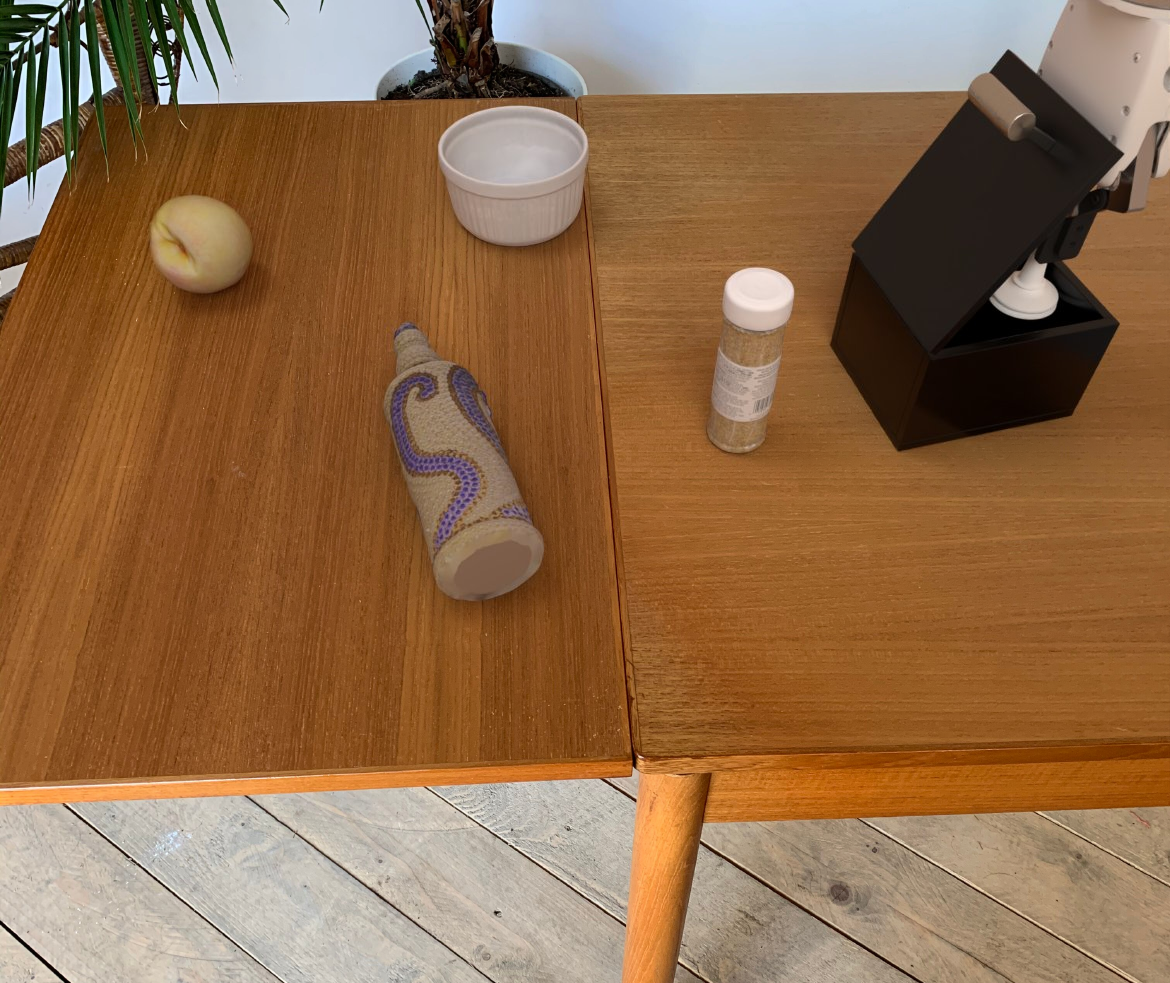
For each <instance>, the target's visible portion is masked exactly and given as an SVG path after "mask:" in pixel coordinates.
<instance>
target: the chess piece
mask: <svg viewBox="0 0 1170 983" xmlns="http://www.w3.org/2000/svg"><path fill="white" fill-rule="evenodd" d="M1036 250H1037V248H1036V249H1035V250H1034V252H1033V253H1032V254H1031V255H1030V257H1029V258H1028V260H1027V262H1026V264H1025V265H1024V267H1023V269H1022V270H1021V271H1015V272H1014V273H1013V274H1012V275H1011V276H1010V277H1009V278H1008V279H1007V280H1006V281H1005V282H1004V283H1003V285H1002V286H1001V287H1000V288H999V289H998V290H997V291H996V292H995V293H994V294H993V295H992V296H991V297H990V298H989V299H990V301H991V303H992V304H993V305H994V306H995V307H996V308H997V309H999V310H1000V311H1002V312H1003V313H1005V314H1007V315H1010V316H1012V317H1016V318H1020V319H1040V318H1044V317H1047V316H1049V315H1050V314H1052V313H1053V312H1054V310H1055V309H1056V305H1057V302H1058V292H1057V290H1056V288H1055V287H1054V285H1053V284H1052V283H1051V282H1049V281H1048V280H1047V279H1045V278H1044V273H1045V269H1046V266H1047V263H1045V264H1038V262H1037V261H1036V260H1035V259H1034V256H1035V252H1036Z"/></svg>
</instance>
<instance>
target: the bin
mask: <svg viewBox="0 0 1170 983" xmlns="http://www.w3.org/2000/svg"><path fill="white" fill-rule="evenodd" d="M1029 257H1030V256H1029ZM1029 257H1028V258H1029ZM1028 258H1027V259H1026V260H1025V261H1024V262H1023V263H1022V264H1021V265H1020V266H1019V267H1018V269H1017V270H1016V271H1021V270H1022V269H1023V267H1024V265H1025V264H1026V262H1027V260H1028ZM1044 278H1045V279H1047V280H1048V281H1049V282H1051V283H1052V284H1053V285H1054V287H1055V288H1056V290H1057V292H1058V302H1057V305H1056V309H1055V310H1054V312H1053V313H1052V314H1050V315H1049V316H1047V317H1044V318H1040V319H1020V318H1016V317H1012V316H1010V315H1007V314H1005V313H1003V312H1002V311H1000V310H999V309H997V308H996V307H995V306H994V305H993V304H992V303H991V301H990V299H988V301H987V302H986V303H985V304H984V305H983V306H982V307H981V308H980V309H979V310H978V311H977V312H976V313H975V314H974V315H973V316H972V318H971V319H970V320H969V321H968V322H967V323H966V324H965V325H964V326H963V327H962V328H961V329H960V330H959V331H958V332H957V334H956V335H955V336H954V337H953V338H952V339H951V340H950V341H949V342H948V343H947V344H946V345H945V346H944V347H943V348H942V350H941V351H940V352H939V353H938V354H937V355H936V356H935V355H933V354H930V353H928V351H927V350H926V349H925V347H924V346H923V345H922V343H921V342H920V340H919V339H918V338H917V336H916V335H915V333H914V332H913V331H912V329H911V328H910V327H909V325H908V324H907V322H906V321H905V320H904V318H903V317H902V316H901V314H900V313H899V311H898V310H897V309H896V307H895V306H894V304H893V303H892V302H891V300H890V299H889V298H888V296H887V295H886V293H885V292H884V291H883V289H882V288H881V286H880V285H879V284H878V282H877V281H876V280H875V278H874V277H873V275H872V274H871V273H870V271H869V270H868V268H867V267H866V266H865V264H864V263H863V262H862V260H861V259H860V257H859V256H858V255H857V253H856V252H855V251H853V252H852V253H851V257H850V261H849V265H848V270H847V274H846V278H845V281H844V285H843V290H842V293H841V298H840V302H839V307H838V311H837V314H836V318H835V323H834V327H833V331H832V335H831V339H830V344H829V346H830V347H831V349H832V351H833V352H834V353H835V355H836V357H837V358H838V360H839V362H840V363H841V365H842V366H843V368H844V370H845V371H846V373H847V374H848V376H849V377H850V379H851V380H852V382H853V383H854V386H855V387H856V388H857V390H858V392H859V393H860V395H861V396H862V398H863V399H864V401H865V402H866V404H867V405H868V407H869V409H870V410H871V412H872V413H873V415H874V417H875V418H876V419H877V421H878V423H879V424H880V426H881V427H882V429H883V431H884V432H885V434H886V435H887V437H888V438H889V440H890V441H891V443H892V445H893V446H894V448H895V449H896V451H897V452H904V451H909V450H914V449H917V448H923V447H927V446H932V445H937V444H941V443H946V442H952V441H956V440H961V439H966V438H971V437H977V436H980V435H986V434H990V433H995V432H999V431H1000V432H1001V431H1005V430H1010V429H1013V428H1020V427H1024V426H1025V427H1026V426H1029V425H1034V424H1039V423H1044V422H1048V421H1049V422H1050V421H1052V420H1057V419H1062V418H1068V417H1073V415H1074V412H1075V411H1076V409H1077V407H1078V405H1079V403H1080V401H1081V399H1082V397H1083V395H1084V393H1085V392H1086V390H1087V389H1088V386H1089V384H1090V382H1091V380H1092V379H1093V377H1094V375H1095V372H1096V371H1097V369H1098V367H1099V365H1100V363H1101V361H1102V360H1103V357H1104V355H1105V353H1106V352H1107V350H1108V348H1109V346H1110V344H1111V342H1112V340H1113V338H1114V337H1115V335H1116V333H1117V330H1118V329H1119V327H1120V325H1121V323H1120V321H1119V320H1118V319H1117V318H1116V317H1115V316H1114V315H1113V314H1112V313H1111V312H1110V310H1108V309H1107V308H1106V306H1104V304H1103V303H1102V302H1101V301H1100V300H1099V298H1097V297H1096V295H1095V294H1093V292H1092V291H1091V290H1090V289H1089V288H1088V287H1087V286H1086V284H1084V283H1083V281H1081V279H1080V278H1079V277H1078V276H1077V275H1076V274H1075V272H1073V271H1072V270H1071V269H1070V267H1069V266H1068V265H1067V264H1066V263H1065V262H1064V260H1062V261H1057V262H1051V263H1047V266H1046V269H1045V273H1044Z"/></svg>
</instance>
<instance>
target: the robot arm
mask: <svg viewBox="0 0 1170 983" xmlns="http://www.w3.org/2000/svg"><path fill="white" fill-rule="evenodd" d="M1036 73H1037V74H1038V75H1039V76H1040V77H1041V78H1042V79H1043V80H1044V81H1046V82H1047V83H1048V84H1049V85H1050V86H1051V87H1052V88H1053V89H1054V90H1055V91H1057V92H1058V93H1059V94H1060V95H1061V96H1062V97H1063V98H1064V99H1065V100H1066V101H1068V102H1069V103H1070V104H1071V105H1072V106H1073V107H1074V108H1075V109H1076V110H1077V111H1079V112H1080V113H1081V114H1082V115H1083V116H1084V117H1085V118H1086V119H1087V120H1088V121H1089V122H1091V123H1092V124H1093V125H1094V126H1095V127H1096V128H1097V129H1098V130H1099V131H1100V132H1102V133H1103V134H1104V135H1105V136H1106V137H1107V138H1108V139H1109V140H1110V141H1111V142H1113V143H1114V144H1115V145H1116V146H1117V147H1118V148H1119V149H1120V150H1121V151H1122V152H1124V156H1123V157H1122V158H1121V159H1120V160H1119V161H1118V162H1117V163H1116V164H1115V165H1114V166H1113V167H1112V168H1111V169H1110V171H1109V172H1108V173H1107V174H1106V175H1105V176H1104V177H1103V178H1102V179H1101V180H1100V181H1099V182H1098V183H1097V184H1096V185H1095V186H1096V189H1092V190H1091V191H1090V192H1089V193H1088V194H1087V195H1086V196H1085V197H1084V198H1083V199H1082V200H1081V201H1080V202H1079V204H1078V205H1077V206H1076V207H1075V208H1074V209H1073V210H1072V211H1071V212H1070V213H1069V214H1068V215H1067V216H1066V217H1065V218H1064V220H1063V221H1062V222H1061V223H1060V224H1059V225H1058V226H1057V227H1056V228H1055V229H1054V230H1053V231H1052V232H1051V233H1050V234H1049V236H1048V237H1047V238H1046V239H1045V240H1044V241H1043V242H1042V243H1041V244H1040V245H1039V246H1038V247H1037V250H1036V252H1035V256H1034V259H1035V260H1036V261H1037V262H1038V264H1045V263H1051V262H1057V261H1067V260H1073V259H1076V257H1078V256H1079V254H1080V252H1081V251H1082V248H1083V245H1084V244H1085V241H1086V239H1087V237H1088V234H1089V233H1090V230H1091V228H1092V226H1093V224H1094V221H1095V219H1096V217H1097V215H1098V213H1104V212H1106V211H1109V212H1113V213H1118V214H1123V215H1124V214H1129V213H1136V212H1141V211H1143V210H1144V209H1145V208H1146V205H1147V200H1148V194H1149V189H1150V183H1151V179H1157V180H1158V179H1161V178H1164V177H1165V176H1166V175H1167V174H1168V172H1169V171H1170V0H1067V1H1066V4H1065V6H1064V8H1063V10H1062V12H1061V14H1060V16H1059V19H1058V20H1057V23H1056V24H1055V27H1054V29H1053V31H1052V34H1051V36H1050V38H1049V41H1048V43H1047V46H1046V49H1045V51H1044V53H1043V55H1042V58H1041V60H1040V64H1039V66H1038V69H1037V72H1036Z"/></svg>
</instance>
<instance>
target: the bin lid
mask: <svg viewBox="0 0 1170 983" xmlns="http://www.w3.org/2000/svg"><path fill="white" fill-rule="evenodd" d="M1123 156H1124V152H1122V151H1121V150H1120V149H1119V148H1118V147H1117V146H1116V145H1115V144H1114V143H1113V142H1111V141H1110V140H1109V139H1108V138H1107V137H1106V136H1105V135H1104V134H1103V133H1102V132H1100V131H1099V130H1098V129H1097V128H1096V127H1095V126H1094V125H1093V124H1092V123H1091V122H1089V121H1088V120H1087V119H1086V118H1085V117H1084V116H1083V115H1082V114H1081V113H1080V112H1079V111H1077V110H1076V109H1075V108H1074V107H1073V106H1072V105H1071V104H1070V103H1069V102H1068V101H1066V100H1065V99H1064V98H1063V97H1062V96H1061V95H1060V94H1059V93H1058V92H1057V91H1055V90H1054V89H1053V88H1052V87H1051V86H1050V85H1049V84H1048V83H1047V82H1046V81H1044V80H1043V79H1042V78H1041V77H1040V76H1039V75H1038V74H1037V72H1036V71H1035V70H1034V69H1033V68H1031V66H1029V65H1028V64H1027V63H1026V62H1025V61H1024V60H1023V59H1022V58H1020V57H1019V56H1018V55H1017V54H1016V53H1015V52H1014V51H1012V50H1011V49H1009V48H1008V49H1006V51H1005V52H1004V53H1003V54H1002V56H1001V57H1000V58H999V60H997V62H996V63H995V65H993V67H992V68H991V69H990V70H989V72H984V73H981V74H979V75H977V76H976V77H975V78H974V79H973V80H972V81H971V82H970V84H969V86H968V88H967V99H966V100H965V102H963V104H962V105H961V107H960V108H959V109H958V110H957V112H956V113H955V114H954V115H953V116H952V117H951V119H950V120H949V122H948V123H947V124H946V125H945V127H944V128H943V129H942V130H941V132H940V133H939V134H938V135H937V136H936V138H935V139H934V140H933V142H932V143H931V144H930V145H929V147H928V148H927V149H926V150H925V152H923V154H922V155H921V157H919V159H918V160H917V162H916V163H915V164H914V165H913V166H912V168H911V169H910V170H909V172H908V173H907V174H906V175H905V176H904V177H903V179H902V180H901V181H900V183H899V184H898V185H897V186H896V188H895V189H894V190H893V191H892V192H891V194H890V195H889V196H888V197H887V199H886V200H885V201H884V202H883V204H881V206H880V208H879V209H878V210H877V211H876V212H875V213H874V215H873V216H872V217H871V219H870V220H869V221H868V222H867V224H866V225H865V226H864V228H863V229H862V230H861V231H860V233H859V234H858V235H857V236H856V238H855V239H854V240H853V241H852V242H851V244H850V247H851V248H852V249H853V250H854V251H853V252H856V253H857V255H858V256H859V257H860V259H861V260H862V262H863V263H864V264H865V266H866V267H867V268H868V270H869V271H870V273H871V274H872V275H873V277H874V278H875V280H876V281H877V282H878V284H879V285H880V286H881V288H882V289H883V291H884V292H885V293H886V295H887V296H888V298H889V299H890V300H891V302H892V303H893V304H894V306H895V307H896V309H897V310H898V311H899V313H900V314H901V316H902V317H903V318H904V320H905V321H906V322H907V324H908V325H909V327H910V328H911V329H912V331H913V332H914V333H915V335H916V336H917V338H918V339H919V340H920V342H921V343H922V345H923V346H924V347H925V349H926V350H927V351H928V353H930V354H933V355H935V356H936V355H937V354H938V353H939V352H940V351H941V350H942V348H943V347H944V346H945V345H946V344H947V343H948V342H949V341H950V340H951V339H952V338H953V337H954V336H955V335H956V334H957V332H958V331H959V330H960V329H961V328H962V327H963V326H964V325H965V324H966V323H967V322H968V321H969V320H970V319H971V318H972V316H973V315H974V314H975V313H976V312H977V311H978V310H979V309H980V308H981V307H982V306H983V305H984V304H985V303H986V302H987V301H988V299H989V298H990V297H991V296H992V295H993V294H994V293H995V292H996V291H997V290H998V289H999V288H1000V287H1001V286H1002V285H1003V283H1004V282H1005V281H1006V280H1007V279H1008V278H1009V277H1010V276H1011V275H1012V274H1013V273H1014V272H1015V271H1016V270H1017V269H1018V267H1019V266H1020V265H1021V264H1022V263H1023V262H1024V261H1025V260H1026V259H1027V258H1028V257H1029V256H1030V255H1031V254H1032V253H1033V252H1034V250H1035V249H1036V248H1037V247H1038V246H1039V245H1040V244H1041V243H1042V242H1043V241H1044V240H1045V239H1046V238H1047V237H1048V236H1049V234H1050V233H1051V232H1052V231H1053V230H1054V229H1055V228H1056V227H1057V226H1058V225H1059V224H1060V223H1061V222H1062V221H1063V220H1064V218H1065V217H1066V216H1067V215H1068V214H1069V213H1070V212H1071V211H1072V210H1073V209H1074V208H1075V207H1076V206H1077V205H1078V204H1079V202H1080V201H1081V200H1082V199H1083V198H1084V197H1085V196H1086V195H1087V194H1088V193H1089V192H1090V191H1093V190H1094V188H1095V187H1096V186H1097V185H1096V184H1097V183H1098V182H1099V181H1100V180H1101V179H1102V178H1103V177H1104V176H1105V175H1106V174H1107V173H1108V172H1109V171H1110V169H1111V168H1112V167H1113V166H1114V165H1115V164H1116V163H1117V162H1118V161H1119V160H1120V159H1121V158H1122V157H1123Z"/></svg>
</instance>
